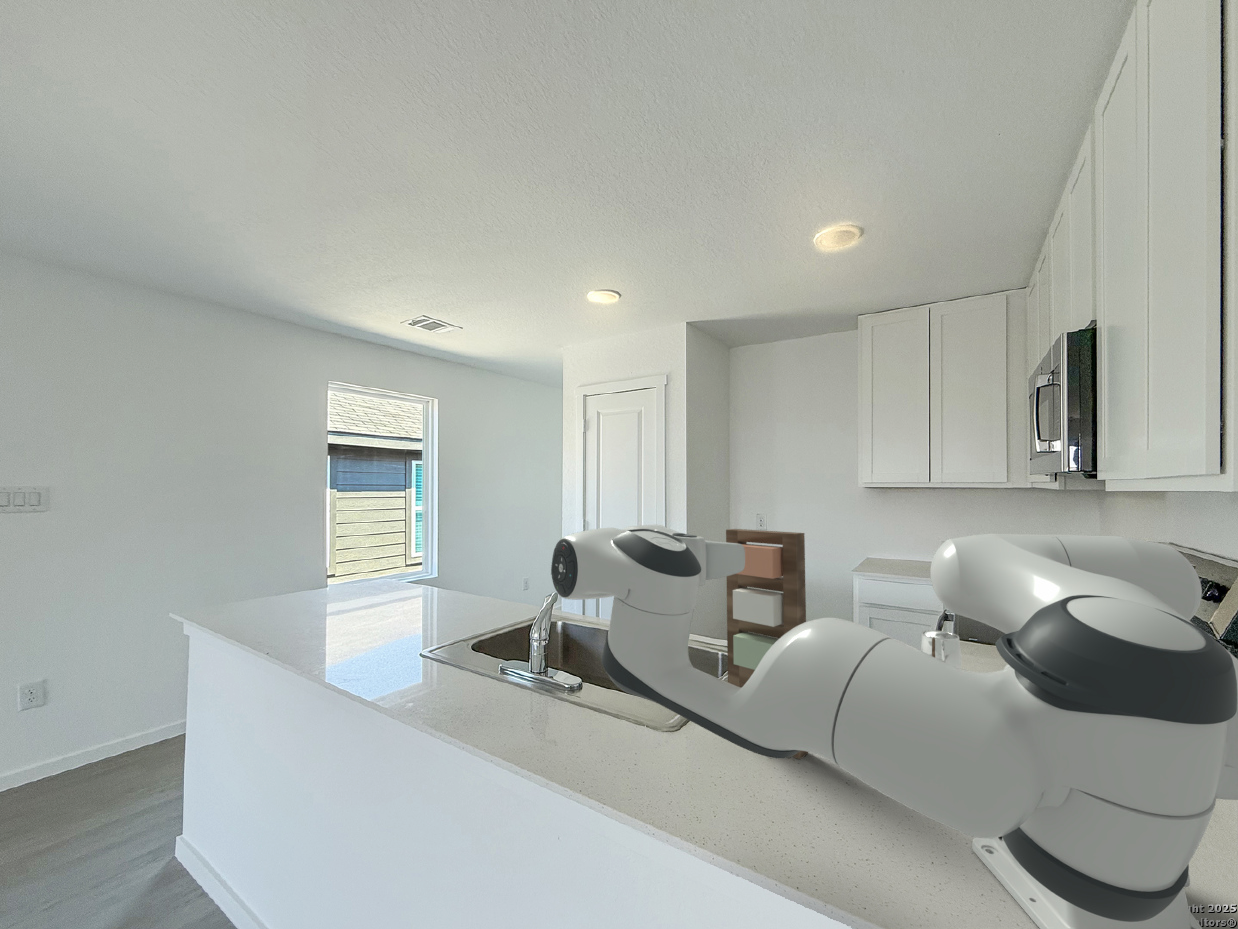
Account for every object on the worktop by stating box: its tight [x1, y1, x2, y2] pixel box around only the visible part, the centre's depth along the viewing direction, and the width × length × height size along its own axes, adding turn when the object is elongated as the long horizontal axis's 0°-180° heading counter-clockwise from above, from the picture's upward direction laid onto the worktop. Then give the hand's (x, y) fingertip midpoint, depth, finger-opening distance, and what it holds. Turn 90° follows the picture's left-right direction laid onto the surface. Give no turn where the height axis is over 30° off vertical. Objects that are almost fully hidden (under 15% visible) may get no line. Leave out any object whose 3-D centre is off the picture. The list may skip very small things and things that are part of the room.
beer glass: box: [920, 629, 962, 669], centre depth 107 cm, size 7×7×15 cm
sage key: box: [733, 631, 779, 670], centre depth 93 cm, size 4×8×5 cm, turn 44°
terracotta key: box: [736, 543, 783, 579], centre depth 94 cm, size 4×8×5 cm, turn 44°
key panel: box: [725, 528, 809, 760], centre depth 94 cm, size 3×14×37 cm, turn 44°
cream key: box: [733, 587, 784, 627], centre depth 93 cm, size 4×8×5 cm, turn 44°
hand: (709, 548), depth 84 cm, fingers closed
